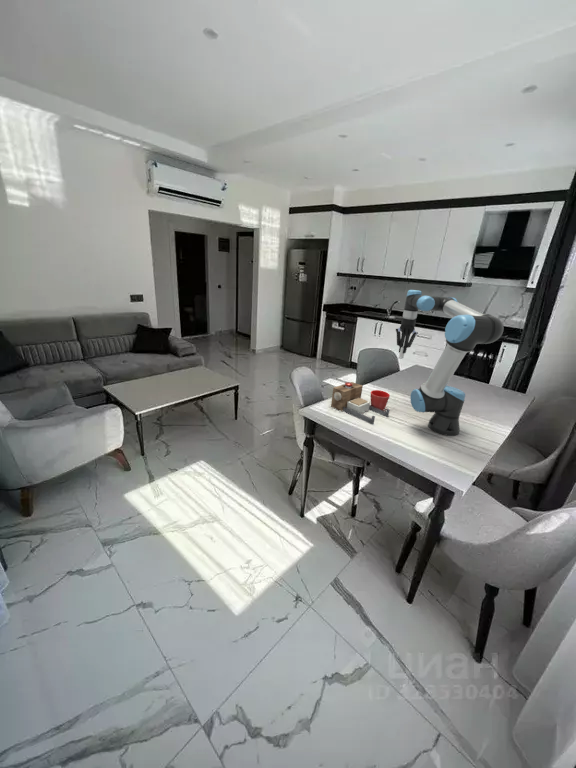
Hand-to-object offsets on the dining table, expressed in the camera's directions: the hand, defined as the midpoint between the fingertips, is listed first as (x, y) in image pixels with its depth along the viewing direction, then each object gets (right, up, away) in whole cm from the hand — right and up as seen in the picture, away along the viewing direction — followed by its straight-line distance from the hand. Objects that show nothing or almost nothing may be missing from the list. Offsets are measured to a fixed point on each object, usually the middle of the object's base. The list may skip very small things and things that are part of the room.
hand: (401, 358), depth 186 cm
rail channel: (-23, -32, -8) cm, 41 cm away
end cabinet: (-33, -28, +2) cm, 43 cm away
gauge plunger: (-32, -23, 0) cm, 39 cm away
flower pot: (-14, -30, +1) cm, 33 cm away
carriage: (-27, -31, -4) cm, 41 cm away
